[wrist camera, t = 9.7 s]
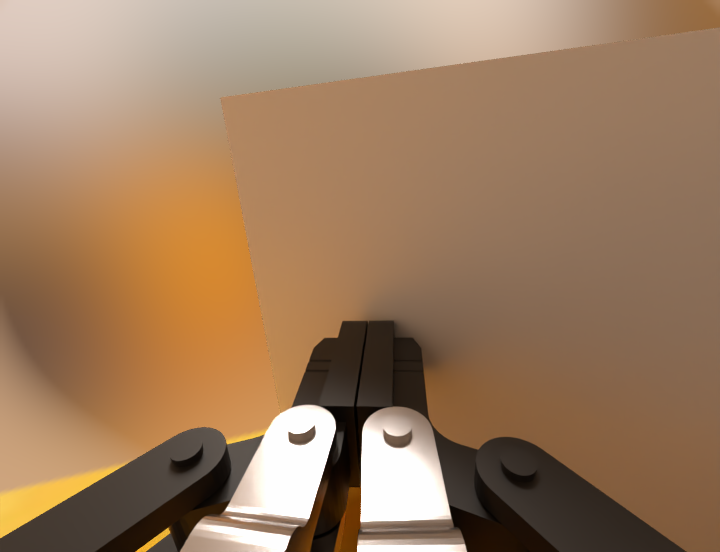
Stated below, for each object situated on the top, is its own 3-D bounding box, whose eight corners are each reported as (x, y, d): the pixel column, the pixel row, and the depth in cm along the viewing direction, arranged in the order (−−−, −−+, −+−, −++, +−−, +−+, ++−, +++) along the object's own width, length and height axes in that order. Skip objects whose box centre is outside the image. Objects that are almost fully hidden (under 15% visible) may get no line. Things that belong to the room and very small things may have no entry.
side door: (900, 753, 8) (1959, -149, 2) (284, 445, 16) (217, 97, 11) (849, 642, 9) (1420, -48, 4) (313, 414, 17) (267, 98, 12)
